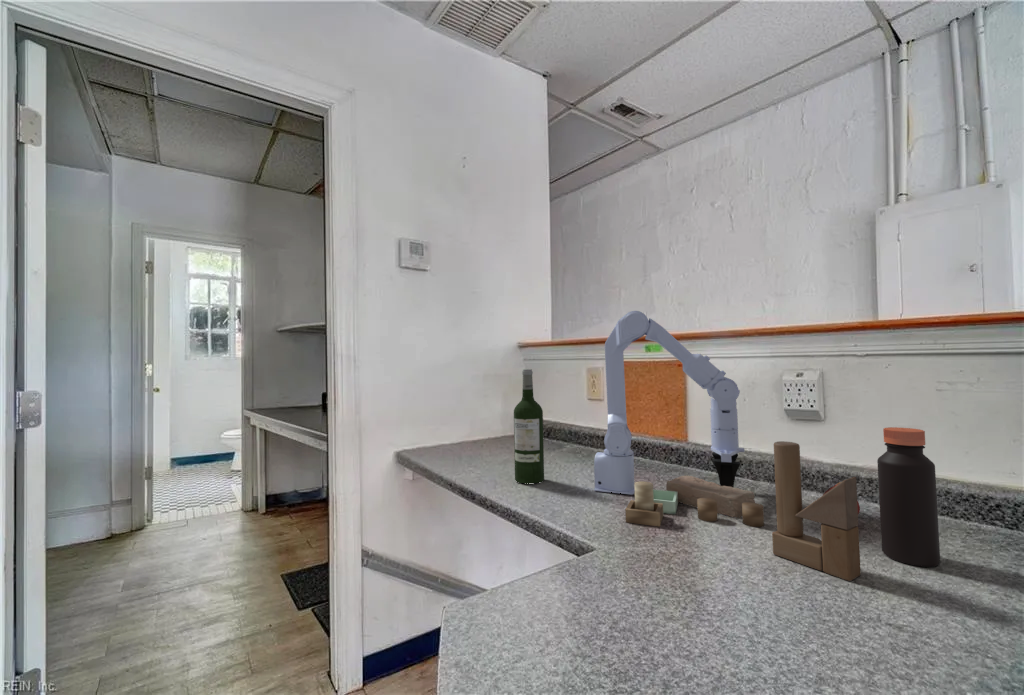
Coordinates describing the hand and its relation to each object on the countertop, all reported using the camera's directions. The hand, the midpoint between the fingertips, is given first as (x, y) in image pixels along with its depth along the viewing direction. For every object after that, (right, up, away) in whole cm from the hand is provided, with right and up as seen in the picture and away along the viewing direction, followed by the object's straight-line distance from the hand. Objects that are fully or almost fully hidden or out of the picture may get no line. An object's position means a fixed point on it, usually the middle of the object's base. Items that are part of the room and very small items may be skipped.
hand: (726, 487), depth 102 cm
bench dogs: (-7, -1, -16) cm, 18 cm away
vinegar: (+12, -1, -34) cm, 36 cm away
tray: (-17, -2, -7) cm, 19 cm away
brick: (-7, -2, -6) cm, 9 cm away
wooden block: (-4, -1, -35) cm, 35 cm away
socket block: (-23, -2, -14) cm, 28 cm away
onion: (+12, -1, -19) cm, 23 cm away
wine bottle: (-45, -4, +16) cm, 48 cm away
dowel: (-23, -2, -14) cm, 28 cm away
